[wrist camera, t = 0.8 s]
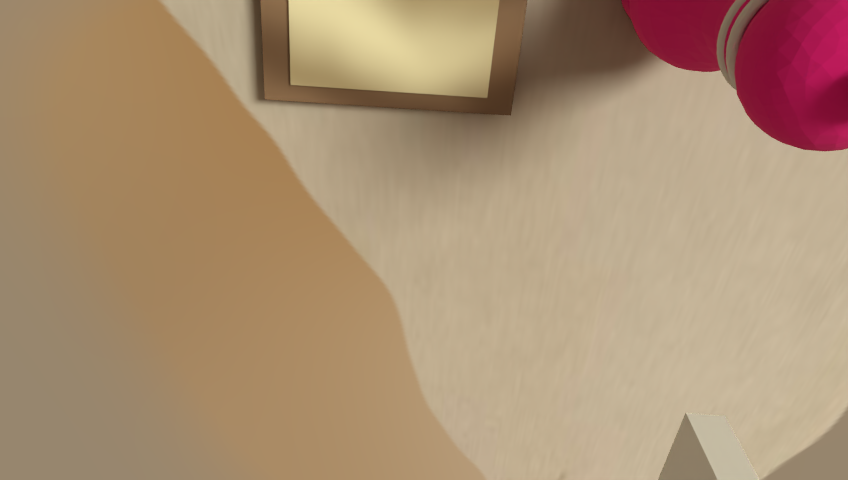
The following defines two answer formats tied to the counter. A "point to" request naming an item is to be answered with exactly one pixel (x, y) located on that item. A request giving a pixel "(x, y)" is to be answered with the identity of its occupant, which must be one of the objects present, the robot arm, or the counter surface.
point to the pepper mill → (762, 58)
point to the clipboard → (394, 53)
